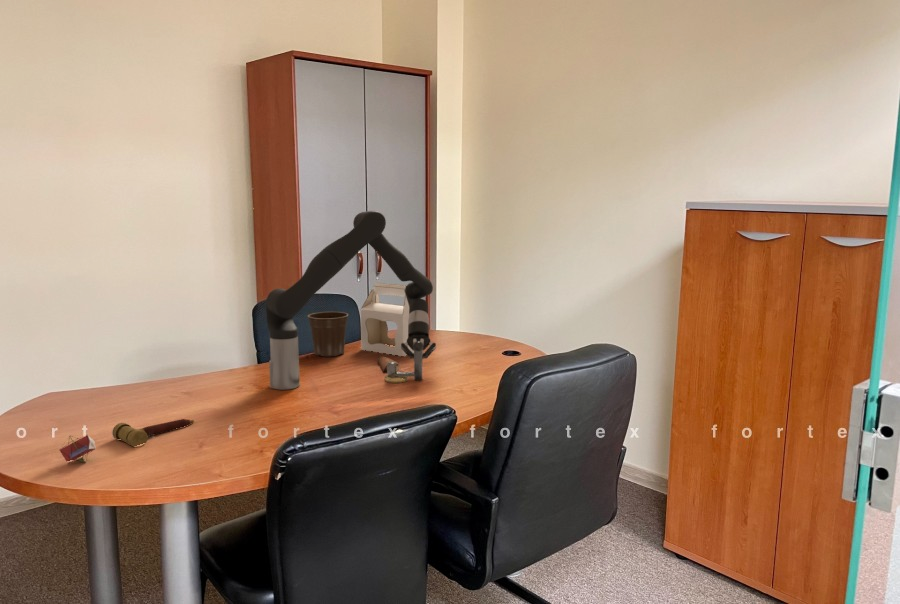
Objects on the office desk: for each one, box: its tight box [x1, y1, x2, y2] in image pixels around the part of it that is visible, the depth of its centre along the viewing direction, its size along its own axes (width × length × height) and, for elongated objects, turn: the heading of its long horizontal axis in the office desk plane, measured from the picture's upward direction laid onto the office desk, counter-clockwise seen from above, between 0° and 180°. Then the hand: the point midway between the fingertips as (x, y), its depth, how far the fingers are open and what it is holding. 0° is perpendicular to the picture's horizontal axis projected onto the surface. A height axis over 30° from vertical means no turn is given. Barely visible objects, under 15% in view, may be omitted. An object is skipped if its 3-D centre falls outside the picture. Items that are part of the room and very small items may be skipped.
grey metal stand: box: [384, 341, 423, 384], centre depth 234 cm, size 13×8×14 cm, turn 92°
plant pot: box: [307, 311, 349, 358], centre depth 277 cm, size 16×16×16 cm
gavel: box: [111, 418, 195, 447], centre depth 187 cm, size 21×5×10 cm
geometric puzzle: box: [59, 434, 96, 463], centre depth 167 cm, size 7×7×8 cm
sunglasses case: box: [376, 355, 401, 374], centre depth 253 cm, size 18×7×7 cm
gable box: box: [360, 282, 414, 357], centre depth 282 cm, size 22×13×28 cm, turn 58°
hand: (418, 367), depth 237 cm, fingers closed
